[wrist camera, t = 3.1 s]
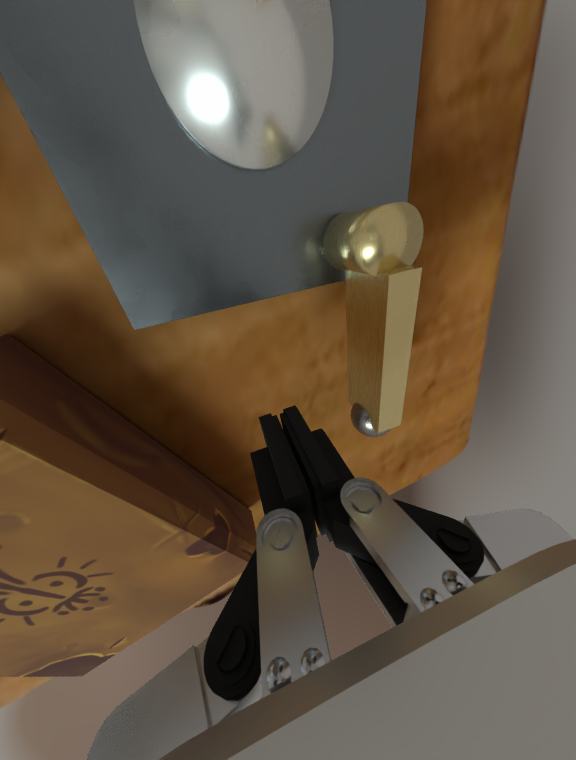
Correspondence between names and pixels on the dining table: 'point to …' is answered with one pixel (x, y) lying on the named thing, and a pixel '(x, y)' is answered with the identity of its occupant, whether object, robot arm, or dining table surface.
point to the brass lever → (377, 306)
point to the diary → (96, 526)
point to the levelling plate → (216, 134)
